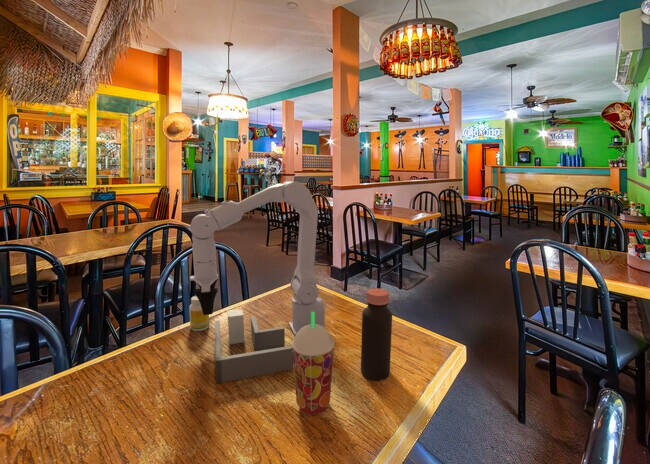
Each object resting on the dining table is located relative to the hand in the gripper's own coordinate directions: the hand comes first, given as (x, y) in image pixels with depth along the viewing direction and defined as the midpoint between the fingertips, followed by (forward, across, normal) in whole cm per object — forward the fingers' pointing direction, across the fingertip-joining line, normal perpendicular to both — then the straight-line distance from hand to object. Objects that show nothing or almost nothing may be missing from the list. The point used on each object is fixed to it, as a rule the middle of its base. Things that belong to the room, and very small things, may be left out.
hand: (208, 308), depth 89 cm
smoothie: (+10, +33, +20) cm, 40 cm away
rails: (+10, +9, +10) cm, 17 cm away
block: (+10, +1, +7) cm, 12 cm away
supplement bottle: (+10, -10, -3) cm, 15 cm away
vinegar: (+10, +27, +37) cm, 47 cm away
